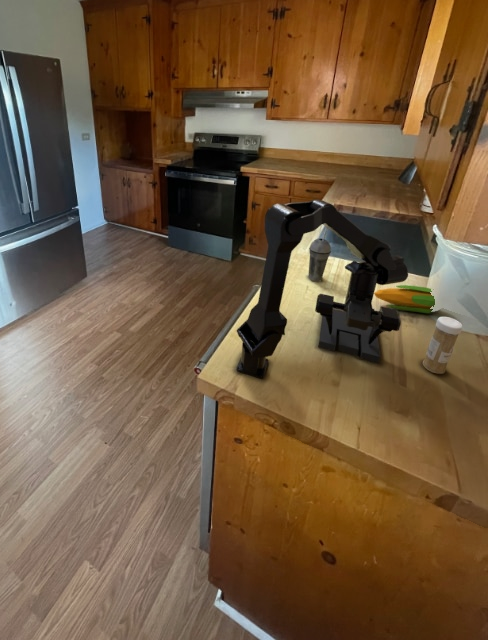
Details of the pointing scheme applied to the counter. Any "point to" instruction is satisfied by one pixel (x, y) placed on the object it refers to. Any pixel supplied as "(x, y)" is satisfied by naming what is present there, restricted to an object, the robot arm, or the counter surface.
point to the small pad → (348, 343)
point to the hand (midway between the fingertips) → (349, 338)
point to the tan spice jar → (442, 344)
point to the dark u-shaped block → (338, 324)
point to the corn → (408, 298)
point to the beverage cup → (318, 258)
